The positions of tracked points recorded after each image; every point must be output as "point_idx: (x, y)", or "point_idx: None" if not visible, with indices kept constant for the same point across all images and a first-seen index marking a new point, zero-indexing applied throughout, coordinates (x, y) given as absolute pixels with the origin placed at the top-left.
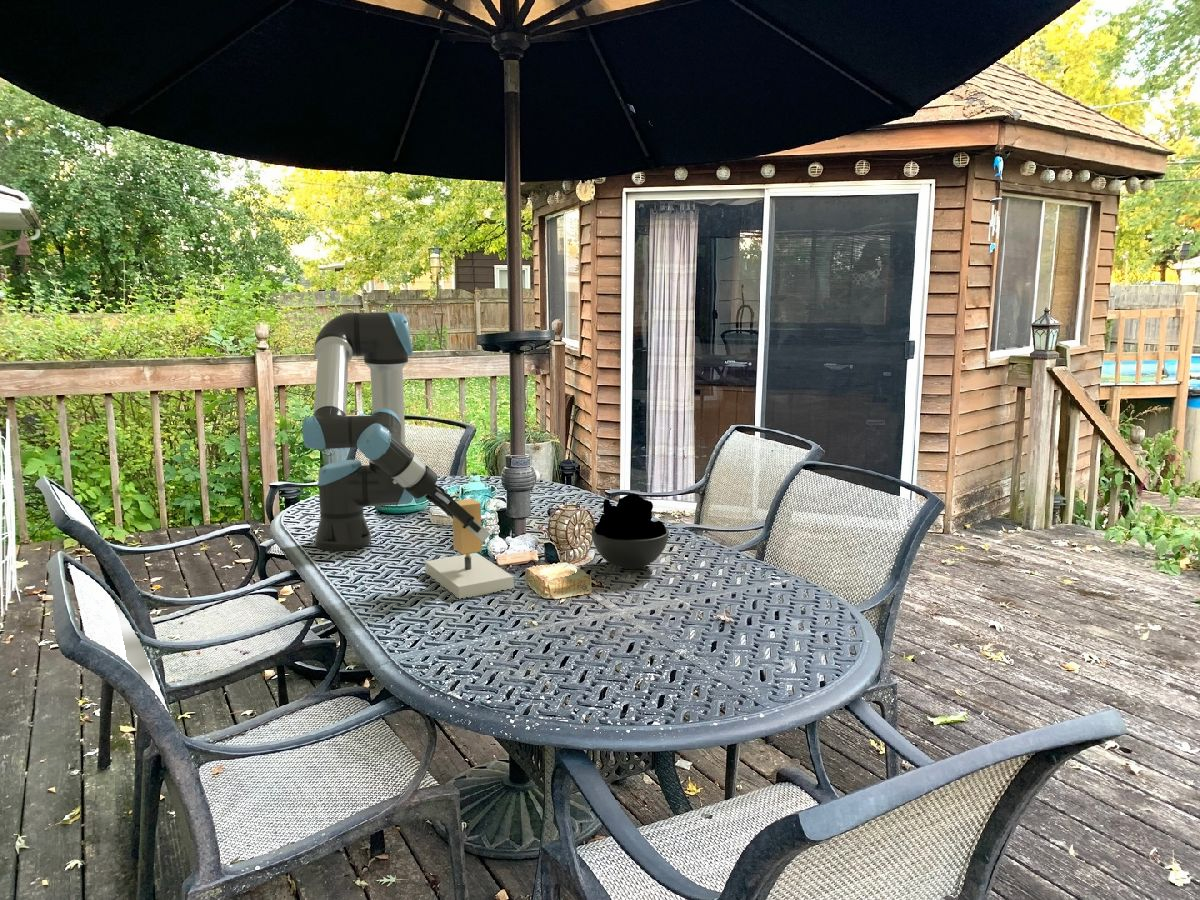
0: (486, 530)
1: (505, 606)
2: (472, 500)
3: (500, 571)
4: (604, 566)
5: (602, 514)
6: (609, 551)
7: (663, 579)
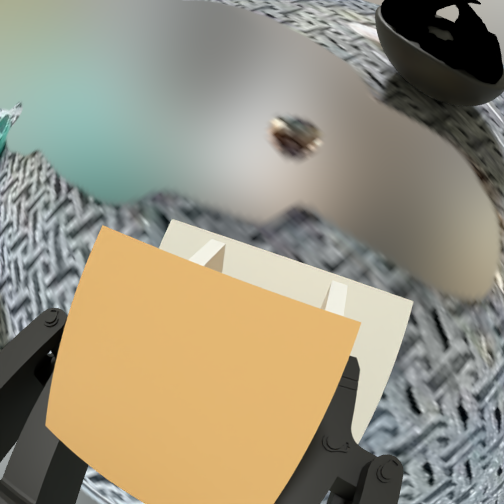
0: (343, 306)
1: (452, 392)
2: (152, 286)
3: (356, 295)
4: (404, 95)
5: (394, 6)
6: (472, 100)
7: (488, 111)
